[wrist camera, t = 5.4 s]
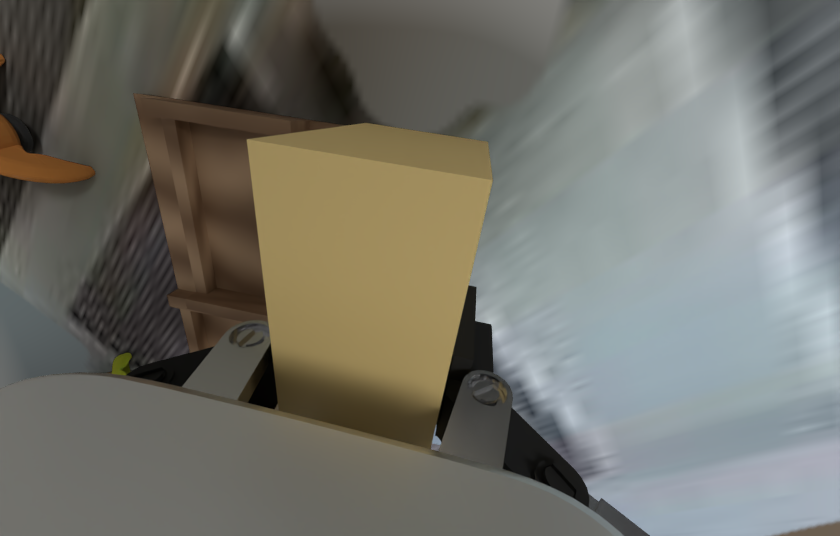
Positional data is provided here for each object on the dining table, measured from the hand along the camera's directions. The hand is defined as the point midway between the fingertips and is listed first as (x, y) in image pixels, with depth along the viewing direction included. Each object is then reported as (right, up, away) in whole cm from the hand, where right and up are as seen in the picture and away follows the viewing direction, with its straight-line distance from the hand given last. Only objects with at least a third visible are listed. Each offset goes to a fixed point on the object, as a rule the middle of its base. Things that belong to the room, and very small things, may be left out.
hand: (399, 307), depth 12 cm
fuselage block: (0, +1, +1) cm, 1 cm away
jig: (-13, 0, +16) cm, 21 cm away
